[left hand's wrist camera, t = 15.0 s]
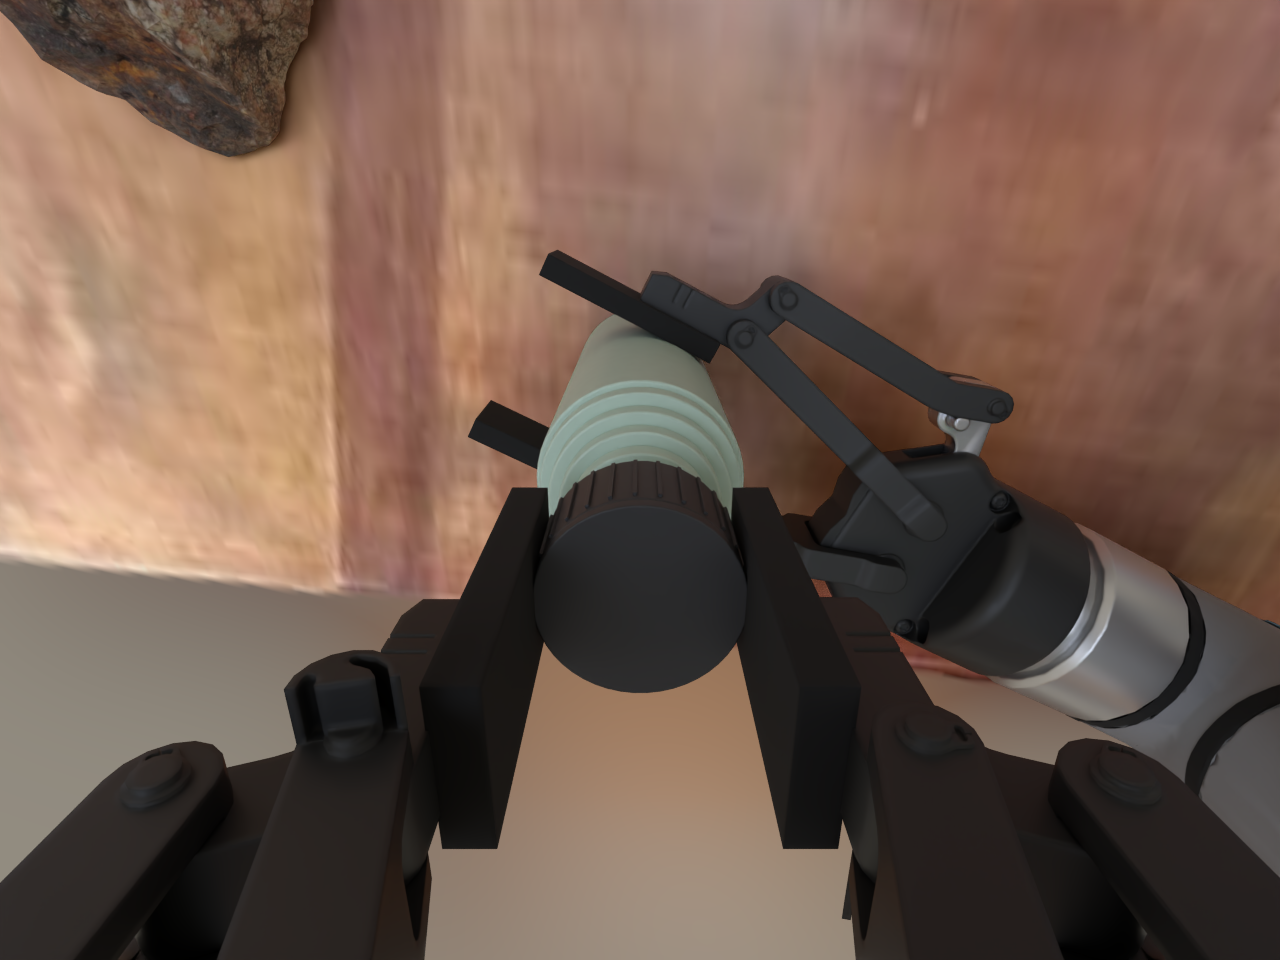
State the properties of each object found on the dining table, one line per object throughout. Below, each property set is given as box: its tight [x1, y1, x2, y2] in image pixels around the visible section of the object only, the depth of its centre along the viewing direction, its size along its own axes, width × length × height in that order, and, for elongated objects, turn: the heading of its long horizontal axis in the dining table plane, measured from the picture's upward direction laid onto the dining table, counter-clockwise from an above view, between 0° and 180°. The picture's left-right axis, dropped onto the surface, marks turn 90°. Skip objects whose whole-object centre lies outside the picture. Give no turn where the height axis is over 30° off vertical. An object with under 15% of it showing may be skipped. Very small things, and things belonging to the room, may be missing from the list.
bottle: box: [537, 314, 744, 519], centre depth 22 cm, size 6×6×20 cm
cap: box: [533, 460, 747, 693], centre depth 14 cm, size 4×4×2 cm
